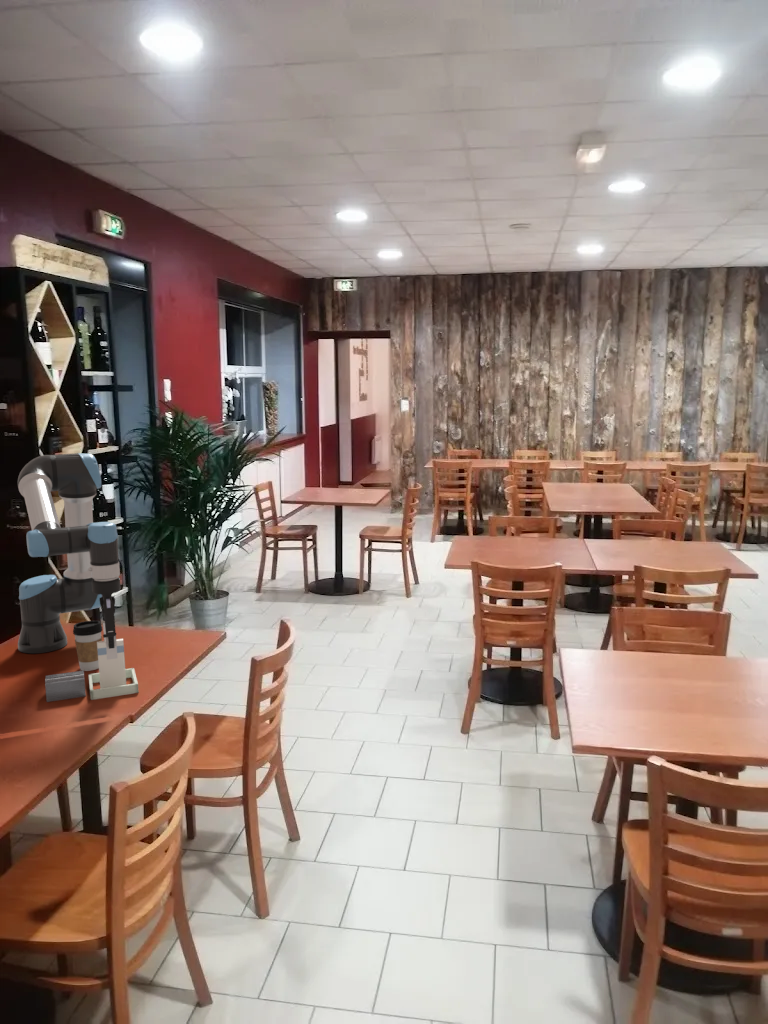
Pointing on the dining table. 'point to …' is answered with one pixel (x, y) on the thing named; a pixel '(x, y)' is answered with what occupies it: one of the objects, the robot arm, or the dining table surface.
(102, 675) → the white striped flat box
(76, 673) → the dispenser
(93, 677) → the tray
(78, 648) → the coffee cup
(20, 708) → the dining table surface
